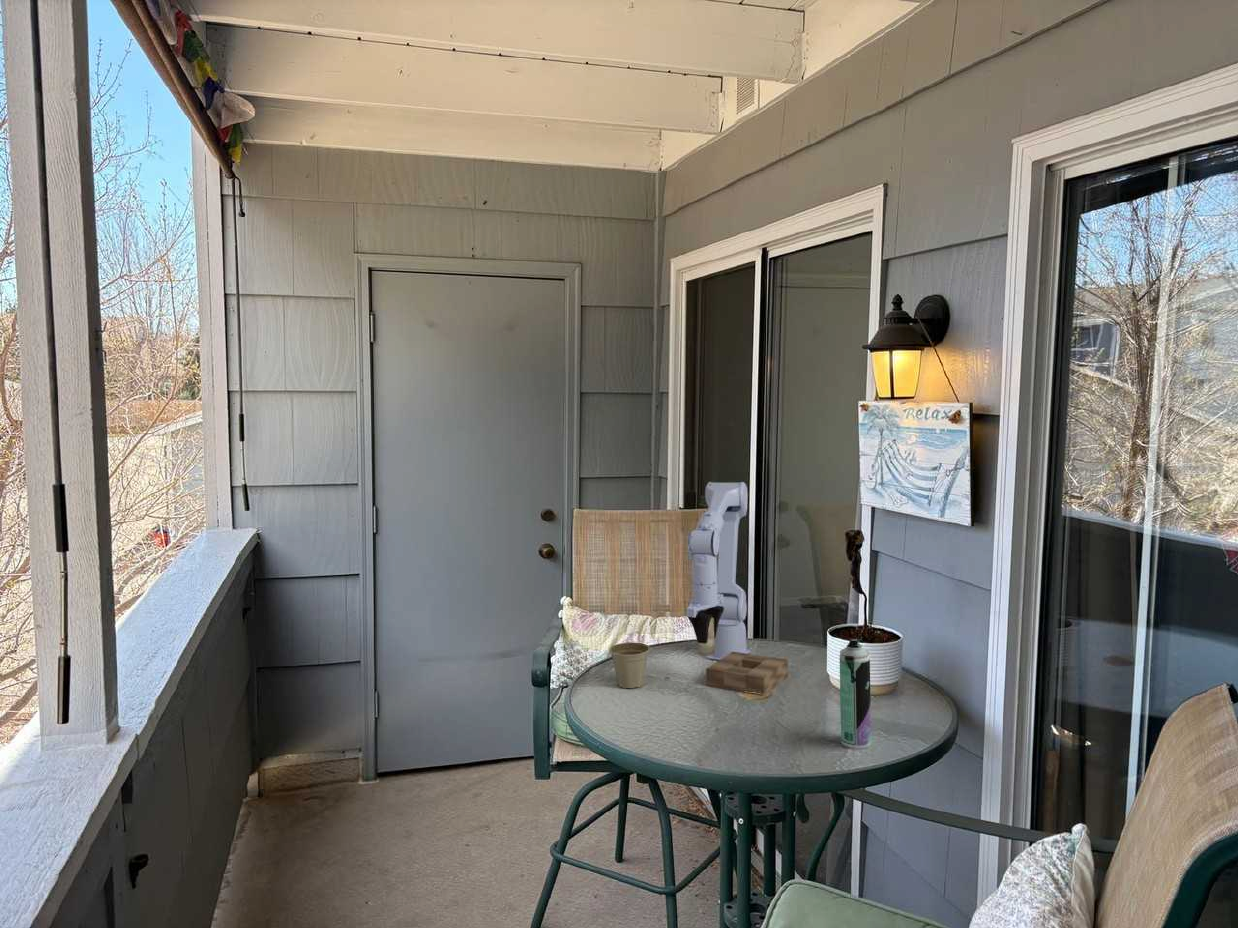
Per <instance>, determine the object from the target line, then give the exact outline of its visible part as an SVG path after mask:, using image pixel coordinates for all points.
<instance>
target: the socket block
mask: <svg viewBox="0 0 1238 928" xmlns="http://www.w3.org/2000/svg"><path fill="white" fill-rule="evenodd" d="M788 661H789V660H788V659H786V658H779V657H772V656H764V655H759V654H758V655H757V654H752V653H748V654H746V653H739V652H731V653H730V654H728V655H727V656H725V657H723V658H722V659H720V660H716V662H715V663H713V664H712V665H710V666H708V667H706V672H705V673H706V676H705V677H706V686H707V687H710V688H711V687H712V688H717V689H723V690H728V691H729V690H730V691H734V692H735V691H736V692H741V693H745V692H744V691H747V692H756V693H761V694H765V693H767V694H768V693H769V692H771V691H772V690H773V689H774V688H776V687H777V686H778V685H779V684H781V682H783V681H784V680H785V679H786V678H788V677H789V670H788V669H789V667H788V666H789V665H788Z"/></svg>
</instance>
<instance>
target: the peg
mask: <svg viewBox="0 0 1238 928" xmlns="http://www.w3.org/2000/svg"><path fill="white" fill-rule="evenodd" d="M698 653H699V654H700V655H702V656H707V655H712V654H714V653H715V648H714V618H711V620H710V624H709V629H708V640H707V643H706V644H704V643H698Z"/></svg>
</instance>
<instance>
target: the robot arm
mask: <svg viewBox="0 0 1238 928" xmlns="http://www.w3.org/2000/svg"><path fill="white" fill-rule="evenodd" d="M704 494H705V495H704V496H705V497H704V498H705V503H706V505H707V511H705V512H703V513H702V514H701V516H700V518H699V519H698V522H697V524H696V526H695V529H694V530H692V531H691V532H689V533H688V534H687V544H686V545H687V546H686V547H687V552H688V558H689V559H688V561H689V563H690V564H691V584H692V586H691V587H692V598H689V599H688V604H689V605H688V607H686V608H685V610H686V618H687V619H688V620H689V621H690V623H691V626H692V628H693V631H694V634H695V637H696V641H697V643H698V644H699V643H704V644H706V643H707V640H708V629H709V624H710V620H711V618H714V648H715V653H714V654H712V655H705V658H706V659H707V660H715V661H719V660H720V659H722V658H723V657H725V656H727V655H728V654H730V653H731V652H739V653H746V654H750V652H751V651H750V649H747V630H746V629H747V628H746V625H745V623H744V621H745V620H746V618H747V617H746V616H747V610H748V609H747V607H748V606H747V605H748V604H747V594H746V592H745V590H744V589H743V588H742V587H741V586H739V585H738V584H737V583H736V582H737V581H736V580H737V578H736V575H737V559H738V558H737V557H738V555H737V554H738V540H739V536H738V535H739V525H740V520H741V519H742V518H744V517H745V516H747V510H748V498H749V497H748V496H749V495H748V486H747V484H746V483H745V482H744V481H740V482H713V481H709V482H708V483H707V484H706V486H705V492H704ZM717 555H718V556H717ZM717 558H718V559H717Z"/></svg>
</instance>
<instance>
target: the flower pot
mask: <svg viewBox="0 0 1238 928" xmlns="http://www.w3.org/2000/svg"><path fill="white" fill-rule="evenodd" d="M608 651H609V653H610V654H611V658H612V659H613V666H614V670H615V671H614V672H615V676H616V681H617V685H618V686H619V688H621V687H622V688H621V689H626V688H633V689H634V688H642V687H643V686H644V685H645V682H646V669H647V662H648V661H647V659H648V657H649V653H650V651H651V647H650V645H648V644H645V643H641V642H634V641H633V642H631V641H630V642H621V643H617V644H613V645H611V646H610V648H609V650H608ZM641 686H642V687H641Z"/></svg>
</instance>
